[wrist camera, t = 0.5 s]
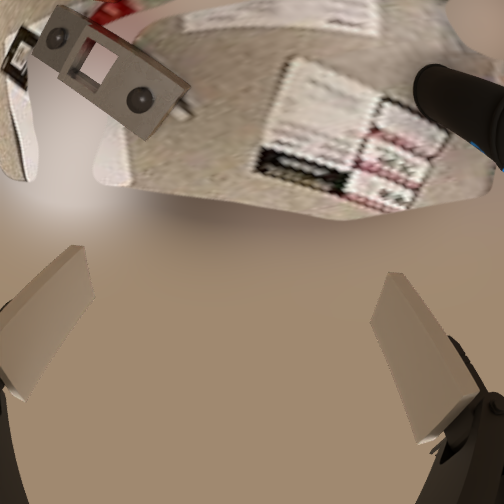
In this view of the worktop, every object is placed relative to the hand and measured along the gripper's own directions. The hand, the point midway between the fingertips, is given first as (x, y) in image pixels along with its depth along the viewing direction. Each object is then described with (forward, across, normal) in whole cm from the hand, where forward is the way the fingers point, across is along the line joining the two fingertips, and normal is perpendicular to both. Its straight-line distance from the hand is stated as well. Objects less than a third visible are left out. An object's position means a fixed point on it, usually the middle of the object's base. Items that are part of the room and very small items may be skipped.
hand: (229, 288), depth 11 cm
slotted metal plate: (+24, -20, +15) cm, 34 cm away
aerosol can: (+24, +23, +15) cm, 36 cm away
